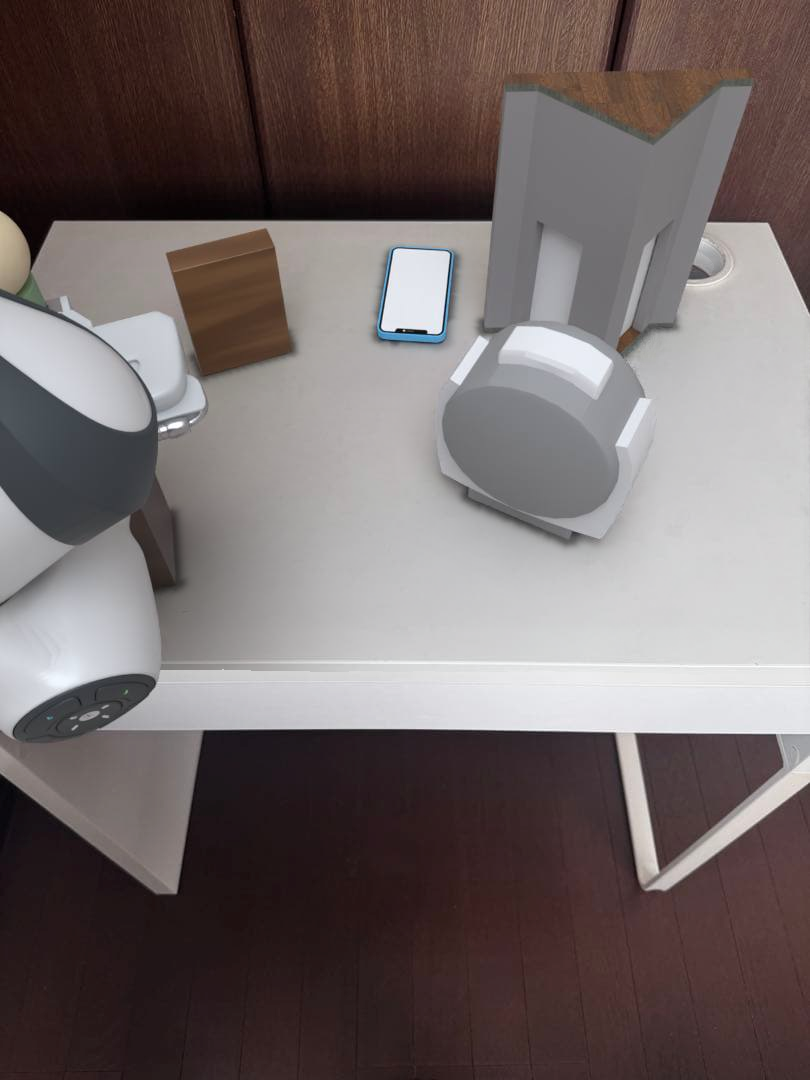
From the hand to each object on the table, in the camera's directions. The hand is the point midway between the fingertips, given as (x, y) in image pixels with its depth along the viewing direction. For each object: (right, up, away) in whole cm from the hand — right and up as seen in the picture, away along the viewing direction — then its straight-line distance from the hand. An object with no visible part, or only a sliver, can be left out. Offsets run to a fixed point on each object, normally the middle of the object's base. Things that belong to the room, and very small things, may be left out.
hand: (10, 317), depth 58 cm
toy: (-1, +1, +6) cm, 6 cm away
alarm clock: (+38, -11, +27) cm, 48 cm away
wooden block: (+9, +5, +37) cm, 39 cm away
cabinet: (+45, +6, +38) cm, 59 cm away
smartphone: (+27, +13, +42) cm, 52 cm away
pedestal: (+1, -16, +24) cm, 29 cm away
